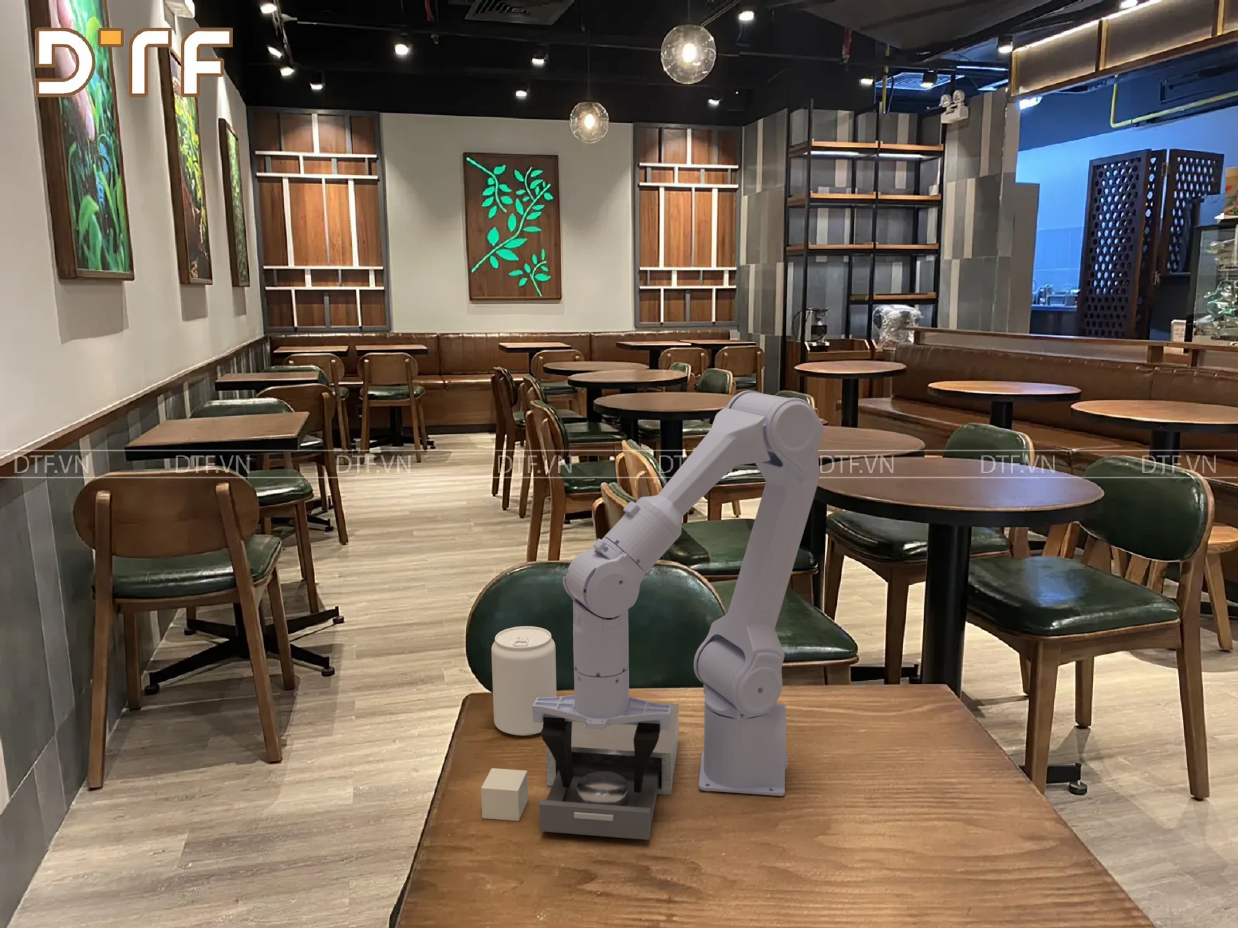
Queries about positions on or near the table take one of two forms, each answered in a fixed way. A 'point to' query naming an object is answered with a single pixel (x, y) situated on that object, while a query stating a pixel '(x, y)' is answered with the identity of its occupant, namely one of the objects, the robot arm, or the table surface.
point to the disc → (602, 789)
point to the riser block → (504, 794)
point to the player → (622, 749)
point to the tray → (596, 818)
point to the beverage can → (521, 677)
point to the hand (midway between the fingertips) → (602, 785)
